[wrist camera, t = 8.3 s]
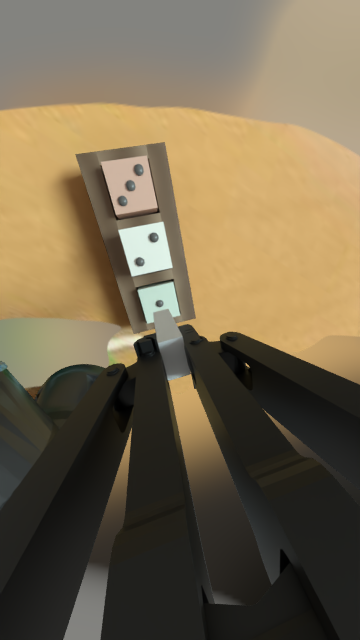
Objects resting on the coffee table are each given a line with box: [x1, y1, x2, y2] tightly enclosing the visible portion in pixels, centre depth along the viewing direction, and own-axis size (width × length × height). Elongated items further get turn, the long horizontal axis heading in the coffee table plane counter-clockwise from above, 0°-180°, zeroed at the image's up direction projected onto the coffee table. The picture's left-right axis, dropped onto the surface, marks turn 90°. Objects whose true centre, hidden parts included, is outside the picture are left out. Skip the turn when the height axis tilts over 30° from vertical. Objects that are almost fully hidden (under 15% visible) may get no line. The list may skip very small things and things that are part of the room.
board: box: [75, 142, 196, 334], centre depth 25 cm, size 10×22×4 cm, turn 11°
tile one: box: [138, 280, 180, 324], centre depth 26 cm, size 5×5×5 cm
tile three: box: [101, 155, 158, 220], centre depth 21 cm, size 5×5×5 cm
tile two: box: [118, 222, 173, 276], centre depth 22 cm, size 5×5×5 cm
